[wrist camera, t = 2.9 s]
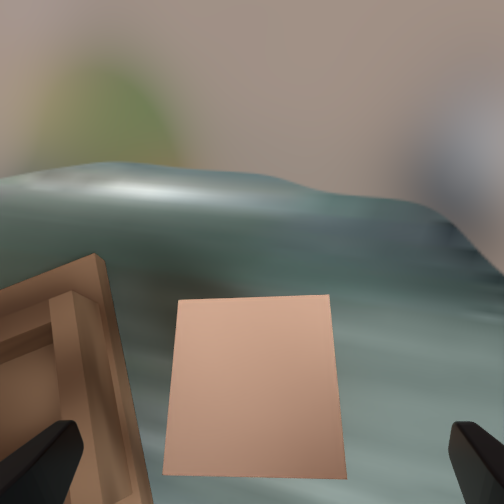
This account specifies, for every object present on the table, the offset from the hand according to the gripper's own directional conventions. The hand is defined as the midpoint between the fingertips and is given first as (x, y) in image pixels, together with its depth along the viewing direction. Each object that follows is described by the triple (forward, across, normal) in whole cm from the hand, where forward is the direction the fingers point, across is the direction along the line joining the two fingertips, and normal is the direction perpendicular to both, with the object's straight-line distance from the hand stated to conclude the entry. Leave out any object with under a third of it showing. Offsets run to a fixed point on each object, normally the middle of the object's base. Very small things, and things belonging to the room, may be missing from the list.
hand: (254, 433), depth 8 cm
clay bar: (+8, 0, +6) cm, 10 cm away
